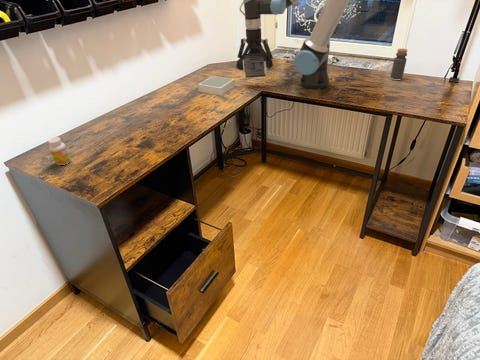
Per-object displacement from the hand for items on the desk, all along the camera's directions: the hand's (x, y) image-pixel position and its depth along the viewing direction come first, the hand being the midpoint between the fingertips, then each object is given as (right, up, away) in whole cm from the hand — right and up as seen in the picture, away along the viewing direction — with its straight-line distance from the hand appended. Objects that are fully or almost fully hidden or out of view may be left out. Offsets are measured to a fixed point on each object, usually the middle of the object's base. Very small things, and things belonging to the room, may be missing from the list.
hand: (255, 72), depth 174 cm
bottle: (+75, -3, +3) cm, 75 cm away
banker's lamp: (+1, +16, +35) cm, 38 cm away
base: (-21, -7, +4) cm, 22 cm away
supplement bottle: (-74, -50, -49) cm, 102 cm away
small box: (0, -1, +1) cm, 2 cm away
